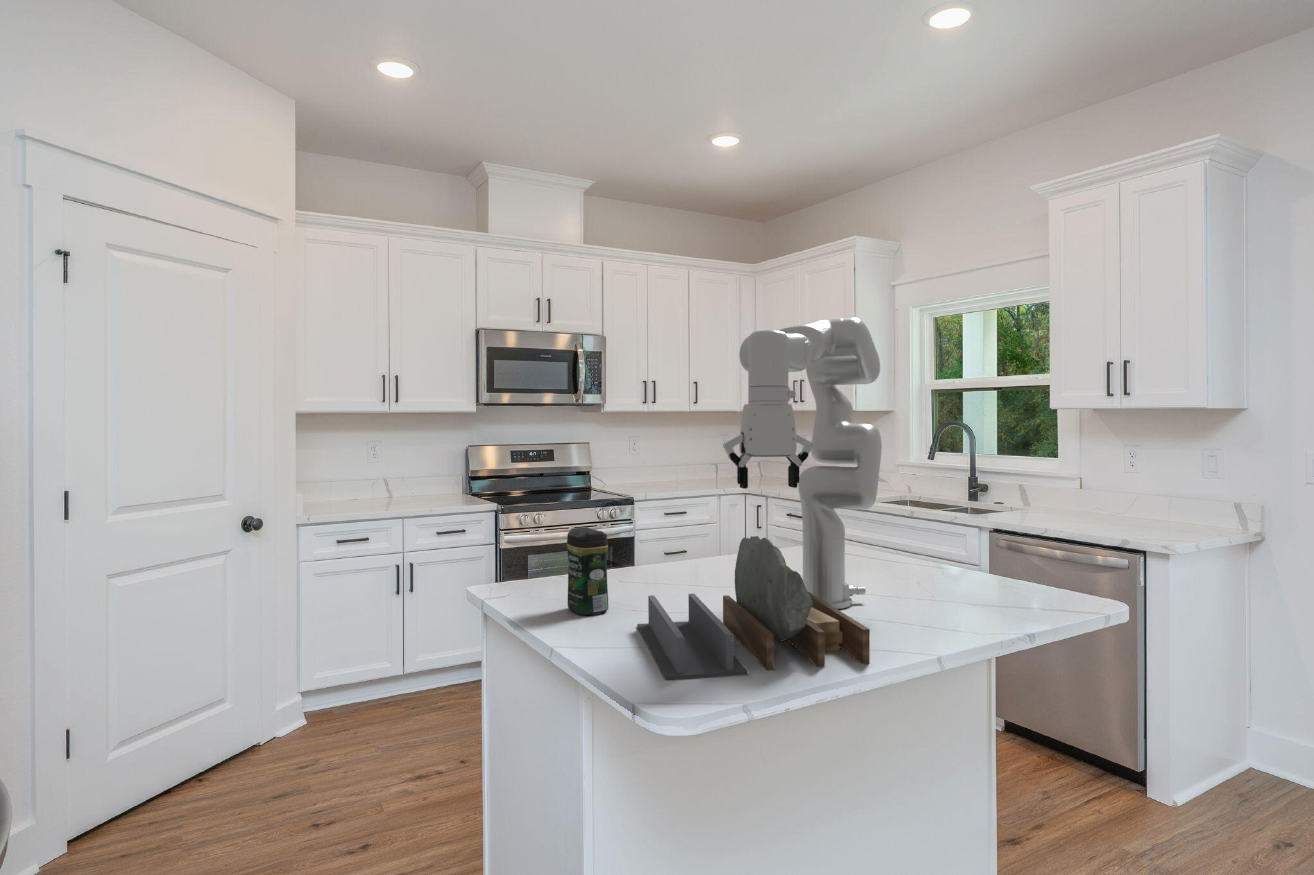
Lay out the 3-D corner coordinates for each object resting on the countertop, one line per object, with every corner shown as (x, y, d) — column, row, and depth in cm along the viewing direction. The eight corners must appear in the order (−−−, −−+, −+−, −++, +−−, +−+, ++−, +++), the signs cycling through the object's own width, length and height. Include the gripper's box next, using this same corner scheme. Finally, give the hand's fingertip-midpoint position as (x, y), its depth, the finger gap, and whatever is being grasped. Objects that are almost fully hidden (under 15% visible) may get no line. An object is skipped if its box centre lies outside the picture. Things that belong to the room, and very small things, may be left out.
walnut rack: (808, 619, 159) (808, 591, 159) (869, 663, 131) (869, 629, 131) (723, 624, 156) (722, 595, 156) (766, 670, 128) (766, 635, 127)
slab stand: (703, 623, 157) (703, 591, 157) (747, 674, 125) (747, 635, 125) (637, 626, 155) (637, 595, 154) (665, 680, 123) (665, 640, 123)
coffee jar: (562, 608, 170) (561, 527, 169) (593, 604, 174) (592, 524, 174) (581, 618, 162) (580, 532, 161) (613, 613, 166) (613, 529, 165)
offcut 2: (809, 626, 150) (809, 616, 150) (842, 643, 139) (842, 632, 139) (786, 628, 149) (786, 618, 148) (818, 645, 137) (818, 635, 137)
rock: (820, 663, 131) (819, 548, 131) (788, 667, 129) (787, 551, 129) (753, 623, 156) (753, 528, 156) (725, 626, 154) (725, 529, 154)
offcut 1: (808, 615, 151) (808, 605, 151) (839, 631, 139) (839, 621, 139) (785, 617, 149) (785, 607, 149) (815, 634, 138) (815, 623, 138)
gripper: (804, 397, 147) (804, 485, 147) (718, 397, 144) (718, 486, 144) (819, 396, 139) (819, 488, 140) (729, 396, 136) (729, 490, 137)
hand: (768, 487), depth 142 cm, fingers open, 9 cm apart
